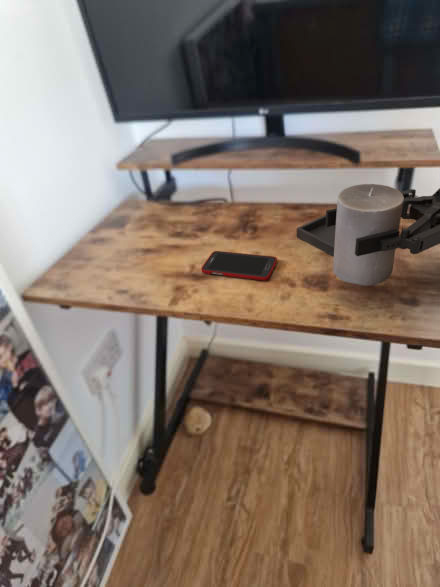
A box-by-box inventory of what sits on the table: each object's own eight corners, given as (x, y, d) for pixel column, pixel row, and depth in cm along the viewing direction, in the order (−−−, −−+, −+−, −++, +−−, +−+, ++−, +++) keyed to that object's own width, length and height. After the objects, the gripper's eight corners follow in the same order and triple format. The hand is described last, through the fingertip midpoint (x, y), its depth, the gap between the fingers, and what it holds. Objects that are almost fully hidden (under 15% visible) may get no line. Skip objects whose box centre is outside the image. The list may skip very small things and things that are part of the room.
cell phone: (268, 282, 79) (268, 278, 78) (200, 273, 84) (199, 269, 84) (278, 260, 84) (278, 256, 84) (213, 254, 90) (213, 250, 89)
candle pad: (392, 237, 87) (394, 227, 85) (344, 262, 81) (345, 253, 80) (342, 215, 97) (342, 206, 96) (296, 237, 92) (296, 228, 90)
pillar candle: (370, 250, 74) (381, 171, 65) (404, 278, 67) (420, 192, 58) (322, 263, 73) (325, 183, 64) (350, 293, 65) (359, 207, 56)
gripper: (513, 256, 60) (375, 289, 58) (421, 199, 78) (312, 223, 75) (530, 210, 56) (381, 244, 53) (428, 161, 73) (312, 185, 71)
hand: (340, 232), depth 64 cm, fingers closed on pillar candle, 9 cm apart
